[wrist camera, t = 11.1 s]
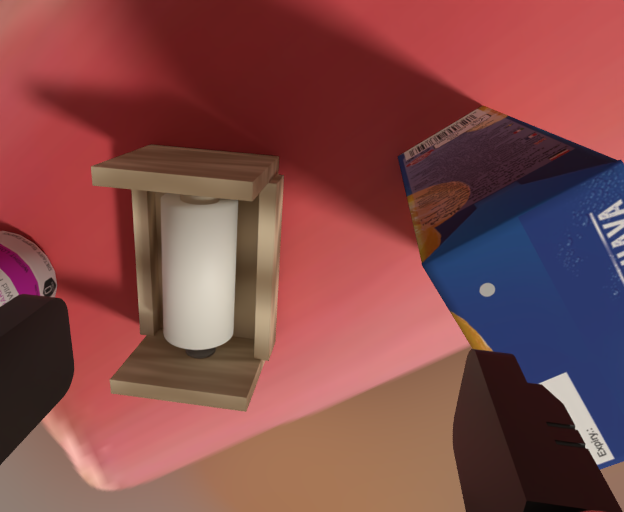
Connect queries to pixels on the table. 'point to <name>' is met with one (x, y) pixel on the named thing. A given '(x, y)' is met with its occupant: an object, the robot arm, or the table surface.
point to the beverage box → (530, 258)
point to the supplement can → (24, 269)
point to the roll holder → (248, 280)
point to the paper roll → (198, 269)
